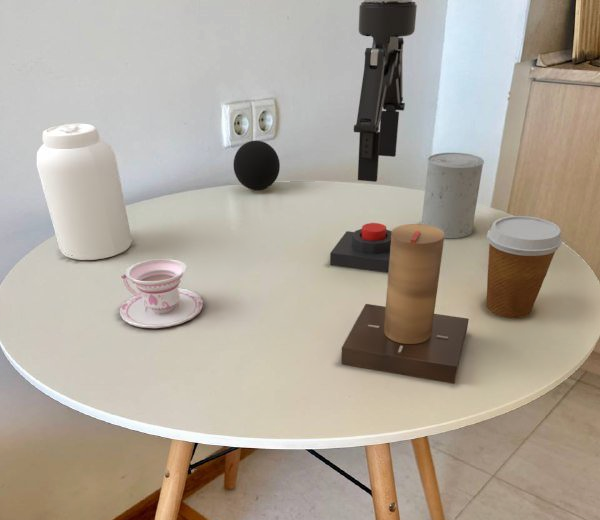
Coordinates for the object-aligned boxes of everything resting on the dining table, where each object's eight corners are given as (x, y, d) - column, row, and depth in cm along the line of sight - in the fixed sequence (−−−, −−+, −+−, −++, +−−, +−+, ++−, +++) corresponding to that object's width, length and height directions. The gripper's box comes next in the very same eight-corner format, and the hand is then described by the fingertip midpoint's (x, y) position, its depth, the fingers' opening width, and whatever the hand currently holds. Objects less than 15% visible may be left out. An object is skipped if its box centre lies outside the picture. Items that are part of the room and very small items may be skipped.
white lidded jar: (55, 242, 108) (22, 124, 96) (123, 230, 112) (100, 115, 100) (67, 267, 99) (32, 141, 87) (140, 253, 103) (117, 130, 91)
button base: (413, 250, 102) (415, 228, 100) (401, 274, 95) (403, 250, 92) (346, 242, 106) (346, 221, 103) (329, 265, 98) (330, 242, 96)
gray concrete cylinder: (441, 215, 116) (449, 149, 108) (483, 228, 110) (495, 159, 102) (409, 228, 110) (416, 160, 103) (452, 242, 105) (462, 171, 97)
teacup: (207, 289, 92) (202, 252, 88) (198, 328, 82) (192, 288, 78) (129, 291, 91) (122, 254, 88) (111, 331, 82) (102, 290, 78)
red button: (388, 234, 99) (388, 224, 98) (382, 243, 96) (383, 232, 95) (364, 231, 100) (365, 221, 99) (358, 240, 97) (359, 230, 96)
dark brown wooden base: (466, 334, 79) (469, 317, 78) (454, 383, 70) (457, 365, 69) (364, 319, 83) (365, 302, 82) (341, 364, 74) (341, 346, 73)
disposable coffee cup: (469, 318, 83) (484, 235, 76) (479, 289, 90) (493, 211, 83) (541, 329, 80) (563, 245, 73) (545, 299, 87) (566, 219, 80)
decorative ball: (289, 188, 131) (288, 140, 125) (255, 199, 125) (252, 150, 119) (260, 179, 137) (257, 133, 131) (226, 189, 131) (221, 141, 125)
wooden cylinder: (389, 317, 78) (397, 218, 70) (435, 324, 77) (448, 224, 69) (378, 339, 74) (386, 237, 66) (426, 347, 72) (440, 243, 64)
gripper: (398, 7, 67) (384, 194, 80) (431, -6, 86) (416, 148, 99) (334, 6, 69) (331, 190, 82) (380, -6, 88) (372, 145, 101)
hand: (377, 167), depth 90 cm, fingers open, 13 cm apart
